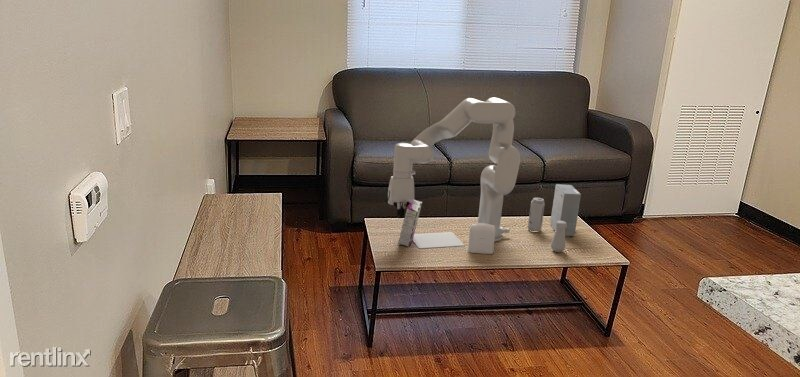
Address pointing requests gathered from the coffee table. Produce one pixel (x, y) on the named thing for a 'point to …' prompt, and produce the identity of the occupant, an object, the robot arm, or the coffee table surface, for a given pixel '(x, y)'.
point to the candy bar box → (410, 223)
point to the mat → (436, 240)
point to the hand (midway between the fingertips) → (400, 217)
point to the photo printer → (481, 238)
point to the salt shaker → (559, 237)
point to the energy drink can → (536, 214)
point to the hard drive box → (565, 207)
